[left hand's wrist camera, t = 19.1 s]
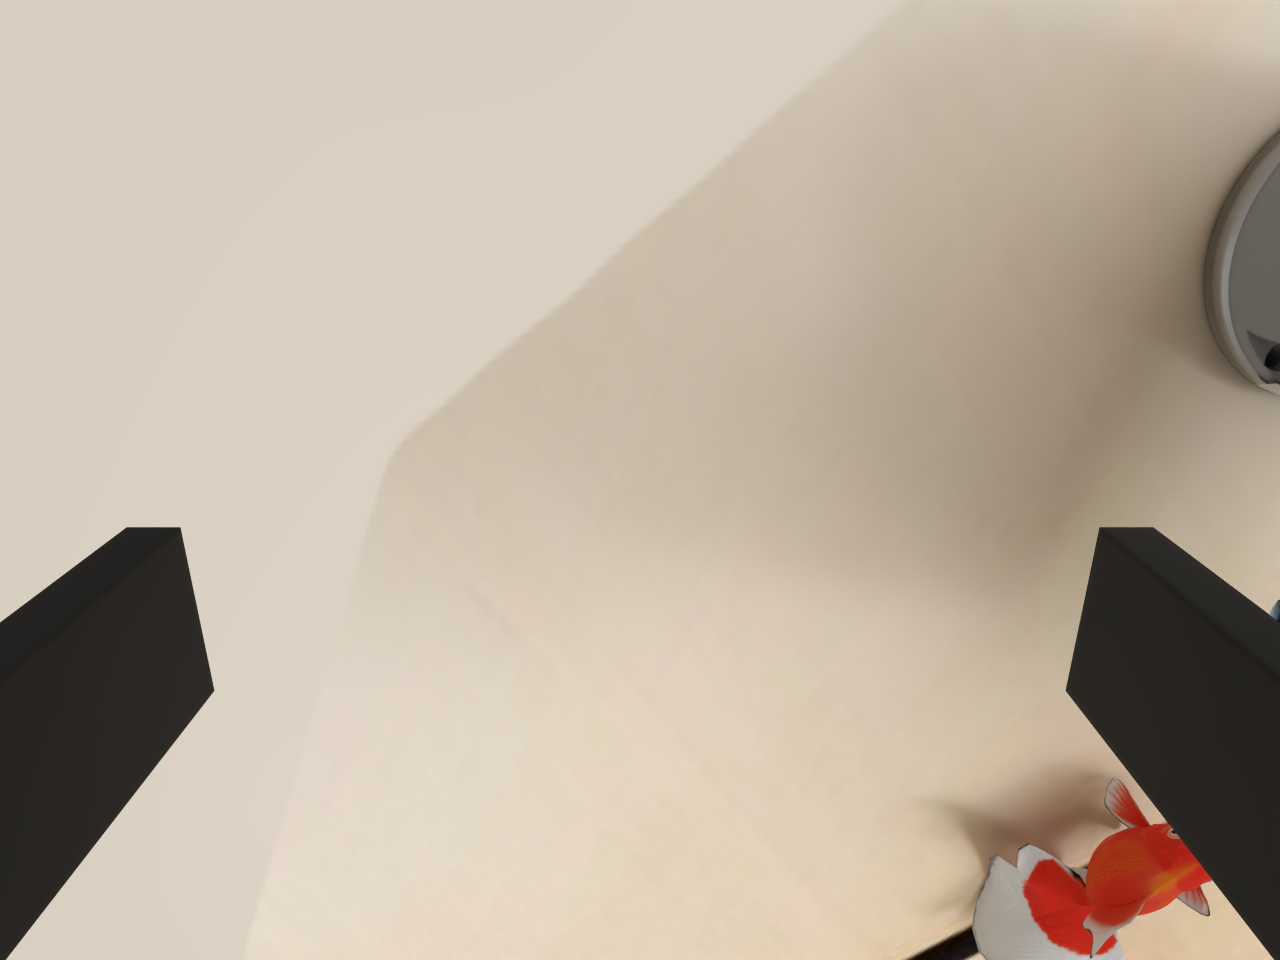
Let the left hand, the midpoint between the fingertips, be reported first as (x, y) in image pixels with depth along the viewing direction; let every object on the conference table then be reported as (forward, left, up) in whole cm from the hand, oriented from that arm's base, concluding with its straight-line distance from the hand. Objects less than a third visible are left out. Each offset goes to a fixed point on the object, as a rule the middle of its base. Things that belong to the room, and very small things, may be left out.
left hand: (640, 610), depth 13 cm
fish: (+36, +26, -32) cm, 55 cm away
